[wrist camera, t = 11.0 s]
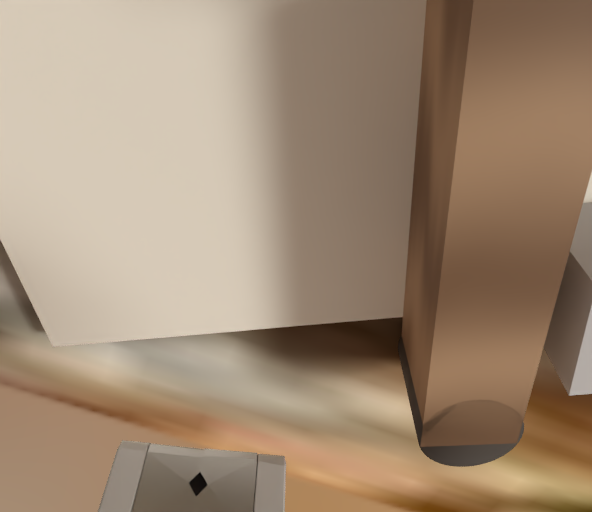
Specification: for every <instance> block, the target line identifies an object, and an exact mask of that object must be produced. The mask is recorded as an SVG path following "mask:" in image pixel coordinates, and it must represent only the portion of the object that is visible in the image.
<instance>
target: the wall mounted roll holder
mask: <svg viewBox="0 0 592 512" xmlns="http://www.w3.org/2000/svg"><path fill="white" fill-rule="evenodd" d="M426 2H427V0H0V240H1V242H2V244H3V246H4V248H5V250H6V252H7V254H8V256H9V258H10V260H11V262H12V264H13V266H14V269H15V271H16V273H17V275H18V277H19V279H20V281H21V283H22V285H23V287H24V289H25V291H26V293H27V295H28V297H29V299H30V301H31V303H32V305H33V307H34V309H35V311H36V313H37V316H38V318H39V320H40V322H41V324H42V326H43V328H44V330H45V332H46V334H47V336H48V338H49V340H50V342H51V344H52V346H53V347H57V346H69V345H81V344H93V343H104V342H116V341H128V340H139V339H151V338H163V337H174V336H186V335H198V334H210V333H221V332H233V331H245V330H256V329H268V328H280V327H291V326H303V325H315V324H327V323H338V322H350V321H362V320H373V319H385V318H397V317H403V309H404V296H405V282H406V269H407V255H408V242H409V229H410V215H411V202H412V189H413V175H414V162H415V149H416V135H417V122H418V108H419V95H420V82H421V68H422V55H423V42H424V28H425V15H426ZM544 349H545V351H546V353H547V355H548V357H549V359H550V361H551V363H552V364H553V366H554V368H555V370H556V372H557V374H558V376H559V378H560V379H561V381H562V383H563V385H564V387H565V389H566V391H567V393H568V395H581V394H592V172H591V176H590V179H589V183H588V187H587V190H586V194H585V197H584V201H583V205H582V208H581V212H580V216H579V219H578V223H577V227H576V230H575V234H574V238H573V241H572V245H571V248H570V252H569V256H568V259H567V263H566V267H565V270H564V274H563V278H562V281H561V285H560V289H559V292H558V296H557V299H556V303H555V307H554V310H553V314H552V318H551V321H550V325H549V329H548V332H547V336H546V340H545V343H544Z"/></svg>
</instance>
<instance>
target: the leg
mask: <svg viewBox="0 0 592 512" xmlns="http://www.w3.org/2000/svg"><path fill="white" fill-rule="evenodd" d="M591 172H592V0H427V2H426V15H425V28H424V42H423V55H422V68H421V82H420V95H419V108H418V122H417V135H416V149H415V162H414V175H413V189H412V202H411V215H410V229H409V242H408V255H407V269H406V282H405V296H404V309H403V322H402V335H401V337H400V339H399V343H398V352H399V357H400V361H401V366H402V370H403V375H404V379H405V384H406V388H407V393H408V397H409V402H410V406H411V411H412V415H413V420H414V424H415V429H416V433H417V438H418V442H419V446H420V448H421V450H422V451H423V453H424V454H425V455H426V456H427V457H429V458H430V459H432V460H434V461H436V462H438V463H441V464H444V465H449V466H474V465H480V464H484V463H487V462H490V461H493V460H495V459H497V458H499V457H501V456H503V455H505V454H506V453H508V452H509V451H510V450H512V449H513V448H514V447H515V446H516V445H517V443H518V442H519V441H520V439H521V437H522V434H523V431H524V423H523V420H524V416H525V412H526V409H527V405H528V401H529V398H530V394H531V390H532V387H533V383H534V380H535V376H536V372H537V369H538V365H539V361H540V358H541V354H542V350H543V347H544V343H545V340H546V336H547V332H548V329H549V325H550V321H551V318H552V314H553V310H554V307H555V303H556V299H557V296H558V292H559V289H560V285H561V281H562V278H563V274H564V270H565V267H566V263H567V259H568V256H569V252H570V248H571V245H572V241H573V238H574V234H575V230H576V227H577V223H578V219H579V216H580V212H581V208H582V205H583V201H584V197H585V194H586V190H587V187H588V183H589V179H590V176H591Z"/></svg>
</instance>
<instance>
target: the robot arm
mask: <svg viewBox="0 0 592 512" xmlns="http://www.w3.org/2000/svg"><path fill="white" fill-rule="evenodd" d="M285 477H286V461H285V457H284V456H278V455H267V454H258V455H257V453H252V452H239V451H227V450H215V449H198V448H189V447H179V446H169V445H159V444H151V443H144V442H134V441H122V442H121V444H120V446H119V448H118V449H117V452H116V455H115V459H114V462H113V465H112V468H111V471H110V474H109V478H108V481H107V484H106V487H105V490H104V493H103V497H102V500H101V503H100V506H99V509H98V512H284V510H285Z"/></svg>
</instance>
